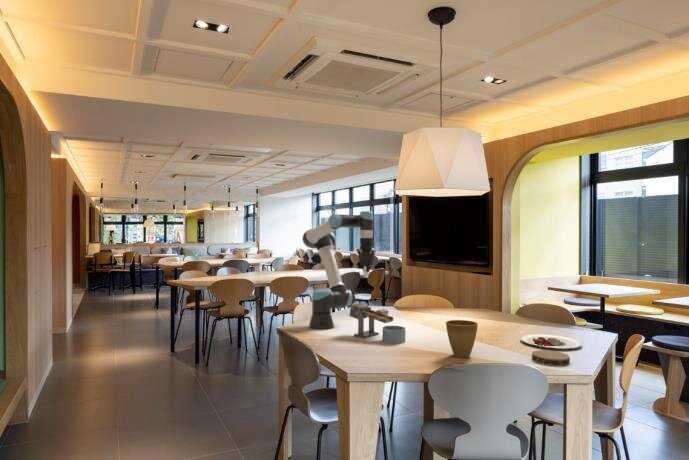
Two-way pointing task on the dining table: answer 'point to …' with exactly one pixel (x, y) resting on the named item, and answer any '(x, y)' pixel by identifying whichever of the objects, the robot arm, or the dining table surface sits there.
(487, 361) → the dining table surface
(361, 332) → the lever stand
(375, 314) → the lever
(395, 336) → the cup
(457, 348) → the plant pot
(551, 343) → the plated food
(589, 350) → the dining table surface
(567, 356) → the brown round disc
